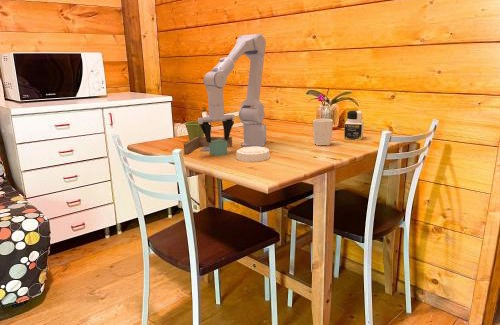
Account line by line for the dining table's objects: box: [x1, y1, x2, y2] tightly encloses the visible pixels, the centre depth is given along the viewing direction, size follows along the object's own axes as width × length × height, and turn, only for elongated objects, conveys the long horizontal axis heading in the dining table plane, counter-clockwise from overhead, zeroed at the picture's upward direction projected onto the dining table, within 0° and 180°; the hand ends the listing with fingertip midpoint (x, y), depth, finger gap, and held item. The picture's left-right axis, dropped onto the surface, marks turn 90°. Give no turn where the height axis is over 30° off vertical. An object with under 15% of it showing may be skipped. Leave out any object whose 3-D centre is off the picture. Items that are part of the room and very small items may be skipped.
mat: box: [199, 147, 210, 152], centre depth 153 cm, size 7×7×1 cm
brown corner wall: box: [183, 136, 233, 155], centre depth 151 cm, size 15×15×4 cm
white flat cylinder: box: [235, 146, 271, 163], centre depth 137 cm, size 12×12×4 cm
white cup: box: [312, 118, 334, 146], centre depth 154 cm, size 8×8×10 cm
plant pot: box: [183, 120, 205, 141], centre depth 167 cm, size 9×9×9 cm
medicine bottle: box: [343, 110, 365, 141], centre depth 164 cm, size 7×7×12 cm
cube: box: [209, 139, 229, 157], centre depth 144 cm, size 5×5×5 cm
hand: (217, 140), depth 143 cm, fingers open, 7 cm apart
